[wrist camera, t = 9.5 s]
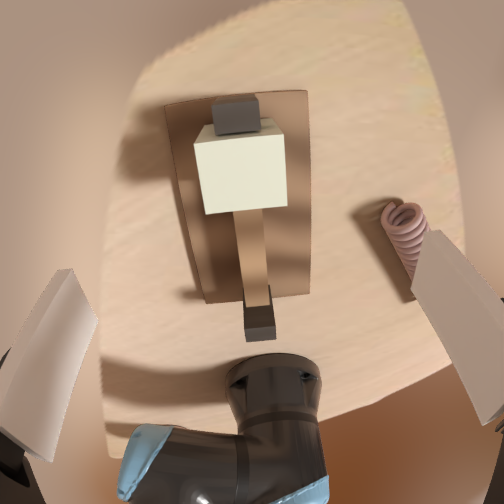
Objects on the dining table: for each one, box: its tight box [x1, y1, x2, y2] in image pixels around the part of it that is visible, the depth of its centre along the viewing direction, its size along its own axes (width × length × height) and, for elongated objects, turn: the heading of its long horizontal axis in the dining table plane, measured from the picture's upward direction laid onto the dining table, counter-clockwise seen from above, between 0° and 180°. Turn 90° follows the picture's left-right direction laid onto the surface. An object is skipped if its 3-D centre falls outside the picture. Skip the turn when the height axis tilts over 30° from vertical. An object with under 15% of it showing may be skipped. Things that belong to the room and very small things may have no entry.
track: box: [164, 90, 311, 342], centre depth 27 cm, size 22×12×7 cm, turn 5°
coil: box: [381, 202, 431, 282], centre depth 32 cm, size 5×5×18 cm
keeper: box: [194, 118, 287, 214], centre depth 22 cm, size 5×6×7 cm
